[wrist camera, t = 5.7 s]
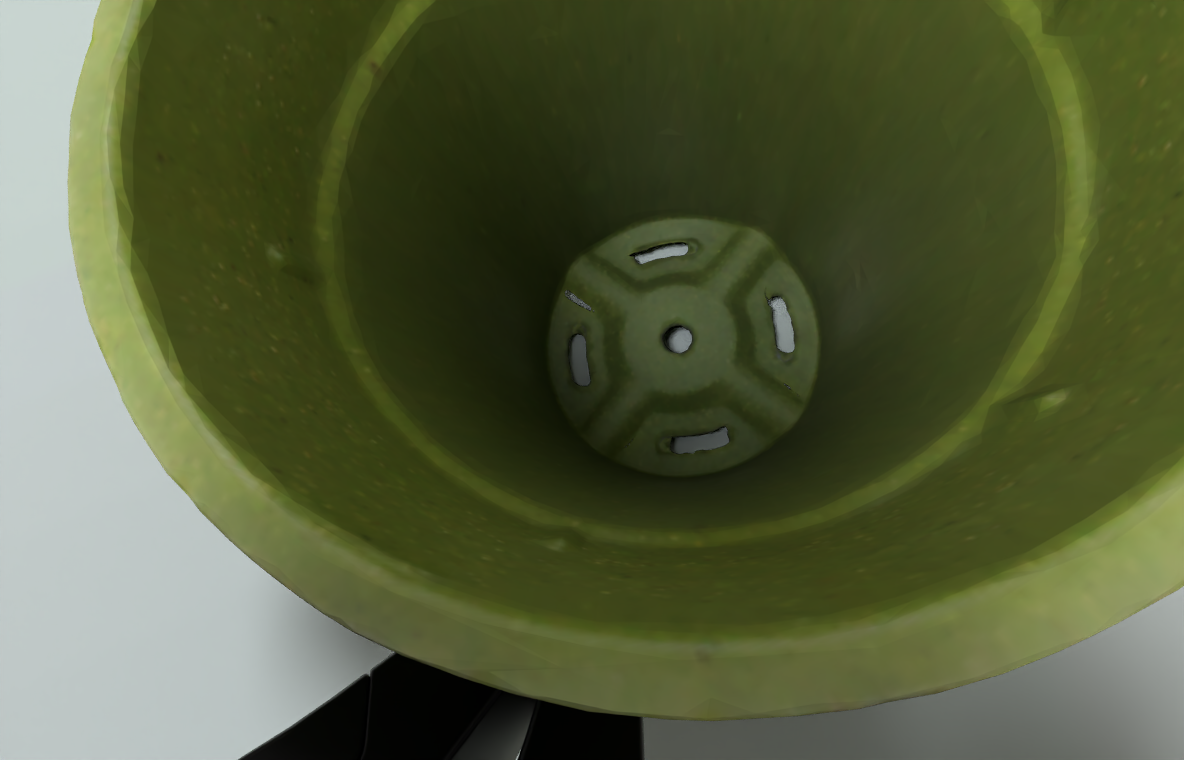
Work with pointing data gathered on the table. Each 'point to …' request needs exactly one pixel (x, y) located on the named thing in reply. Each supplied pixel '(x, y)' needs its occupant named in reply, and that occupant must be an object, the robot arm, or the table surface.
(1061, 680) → the table surface
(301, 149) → the plant pot
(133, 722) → the table surface
